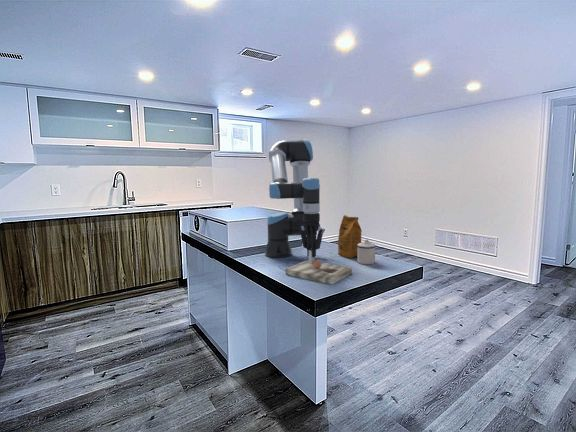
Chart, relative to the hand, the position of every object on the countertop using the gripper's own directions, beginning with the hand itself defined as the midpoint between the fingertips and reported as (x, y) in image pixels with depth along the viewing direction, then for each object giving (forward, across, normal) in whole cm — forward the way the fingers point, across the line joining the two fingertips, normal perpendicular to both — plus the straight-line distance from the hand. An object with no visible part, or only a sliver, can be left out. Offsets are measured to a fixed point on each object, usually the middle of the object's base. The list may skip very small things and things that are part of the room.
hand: (311, 263), depth 145 cm
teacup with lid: (+4, +12, +30) cm, 33 cm away
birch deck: (+4, +4, 0) cm, 5 cm away
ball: (-2, +4, 0) cm, 4 cm away
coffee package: (+4, 0, +37) cm, 38 cm away
